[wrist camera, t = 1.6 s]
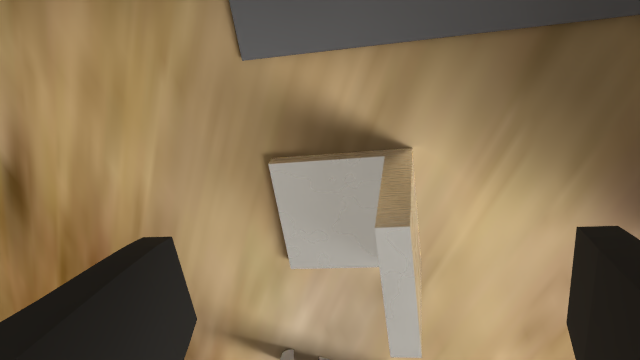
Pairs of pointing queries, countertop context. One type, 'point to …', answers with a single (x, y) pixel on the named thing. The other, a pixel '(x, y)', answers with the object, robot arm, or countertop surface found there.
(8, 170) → the countertop surface
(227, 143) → the countertop surface
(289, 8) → the arena
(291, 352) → the caliper
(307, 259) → the bracket
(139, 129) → the countertop surface
